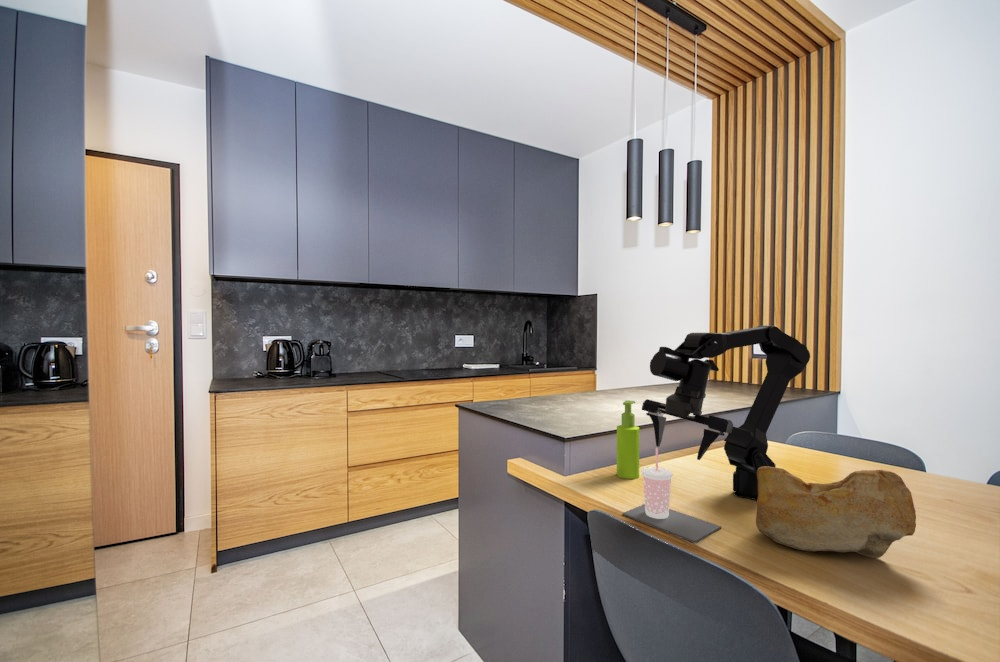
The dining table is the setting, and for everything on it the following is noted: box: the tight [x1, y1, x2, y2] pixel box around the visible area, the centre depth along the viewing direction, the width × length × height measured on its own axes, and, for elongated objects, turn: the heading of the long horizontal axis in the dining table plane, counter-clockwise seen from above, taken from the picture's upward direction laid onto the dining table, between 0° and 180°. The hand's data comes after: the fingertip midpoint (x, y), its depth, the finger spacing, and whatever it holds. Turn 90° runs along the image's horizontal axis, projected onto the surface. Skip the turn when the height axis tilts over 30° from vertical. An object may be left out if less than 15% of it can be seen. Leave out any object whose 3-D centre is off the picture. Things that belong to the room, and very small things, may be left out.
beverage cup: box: [641, 447, 673, 519], centre depth 93 cm, size 6×6×14 cm
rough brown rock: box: [755, 466, 917, 559], centre depth 83 cm, size 23×17×15 cm
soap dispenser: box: [616, 400, 640, 480], centre depth 120 cm, size 6×7×20 cm
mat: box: [622, 503, 722, 544], centre depth 91 cm, size 16×10×1 cm, turn 38°
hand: (677, 452), depth 100 cm, fingers open, 9 cm apart
